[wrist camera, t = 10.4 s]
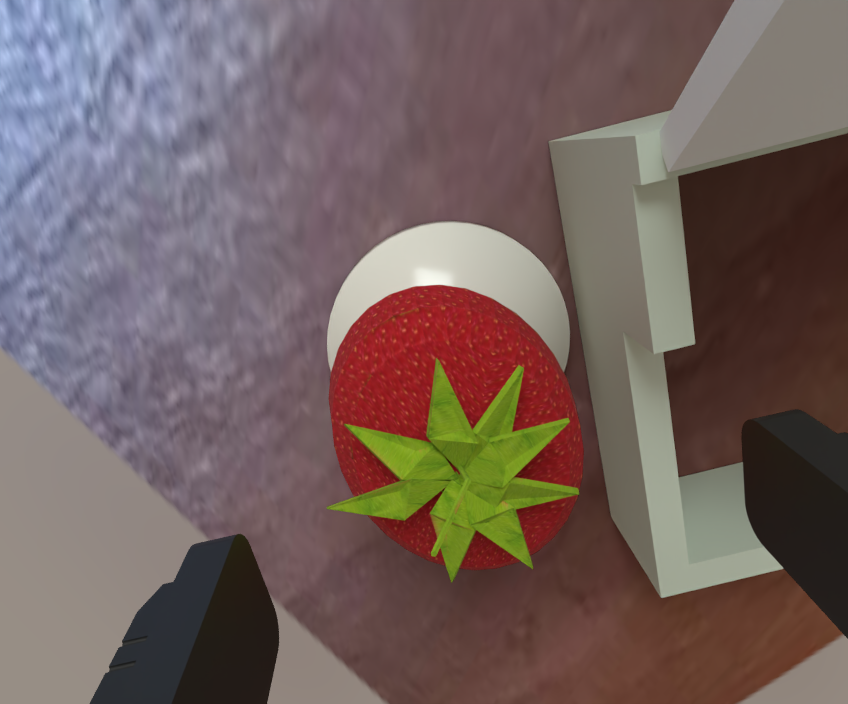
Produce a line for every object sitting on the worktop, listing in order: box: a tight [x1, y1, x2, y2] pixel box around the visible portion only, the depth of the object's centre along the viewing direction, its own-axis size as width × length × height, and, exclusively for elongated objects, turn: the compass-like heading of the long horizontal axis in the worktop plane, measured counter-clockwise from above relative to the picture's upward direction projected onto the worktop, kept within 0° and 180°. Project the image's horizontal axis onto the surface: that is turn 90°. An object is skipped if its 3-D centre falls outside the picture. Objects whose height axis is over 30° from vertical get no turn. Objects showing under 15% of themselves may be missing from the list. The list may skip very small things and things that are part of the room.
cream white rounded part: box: [327, 221, 570, 372], centre depth 21 cm, size 8×8×1 cm
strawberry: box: [327, 285, 584, 583], centre depth 15 cm, size 6×8×10 cm
